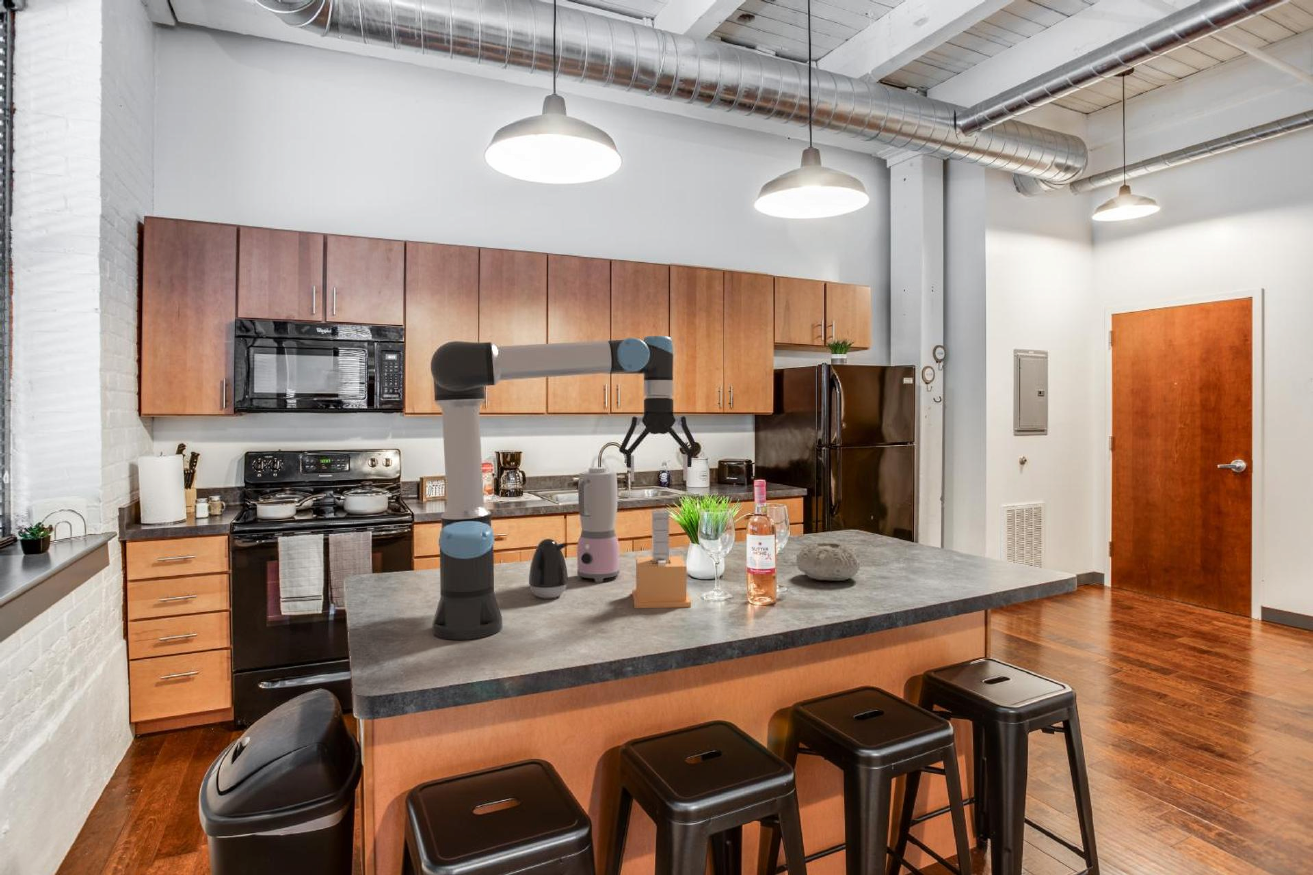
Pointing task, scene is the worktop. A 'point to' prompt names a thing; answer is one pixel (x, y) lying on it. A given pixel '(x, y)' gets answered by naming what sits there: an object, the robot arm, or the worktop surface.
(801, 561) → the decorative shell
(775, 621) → the worktop surface
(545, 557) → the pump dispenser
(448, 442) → the robot arm
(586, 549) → the blender
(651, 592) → the housing
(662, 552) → the column
